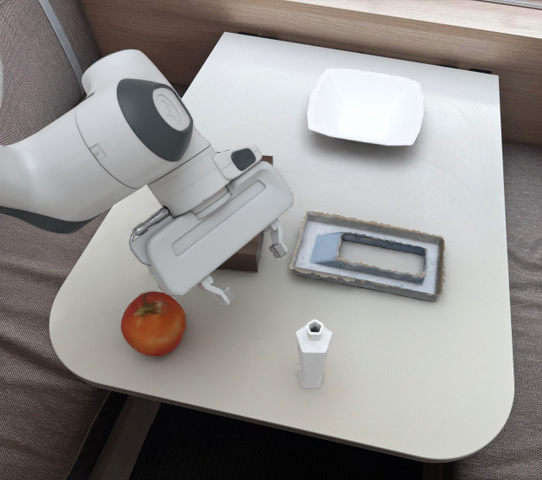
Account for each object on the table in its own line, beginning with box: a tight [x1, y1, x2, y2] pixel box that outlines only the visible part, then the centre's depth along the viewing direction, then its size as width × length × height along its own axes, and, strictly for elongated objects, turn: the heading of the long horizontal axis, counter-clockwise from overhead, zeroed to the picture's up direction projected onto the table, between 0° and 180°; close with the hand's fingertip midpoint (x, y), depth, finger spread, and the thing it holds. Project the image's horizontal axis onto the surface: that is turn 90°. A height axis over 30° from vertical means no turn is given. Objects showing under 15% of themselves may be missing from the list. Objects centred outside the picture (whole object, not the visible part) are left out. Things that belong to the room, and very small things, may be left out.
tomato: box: [120, 290, 187, 358], centre depth 75 cm, size 9×9×8 cm
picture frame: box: [289, 210, 446, 302], centre depth 87 cm, size 13×25×3 cm, turn 80°
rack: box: [215, 151, 274, 273], centre depth 90 cm, size 22×12×5 cm, turn 176°
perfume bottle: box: [295, 318, 333, 389], centre depth 69 cm, size 5×4×15 cm
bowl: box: [306, 67, 425, 147], centre depth 107 cm, size 22×23×6 cm
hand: (257, 277), depth 66 cm, fingers open, 8 cm apart
